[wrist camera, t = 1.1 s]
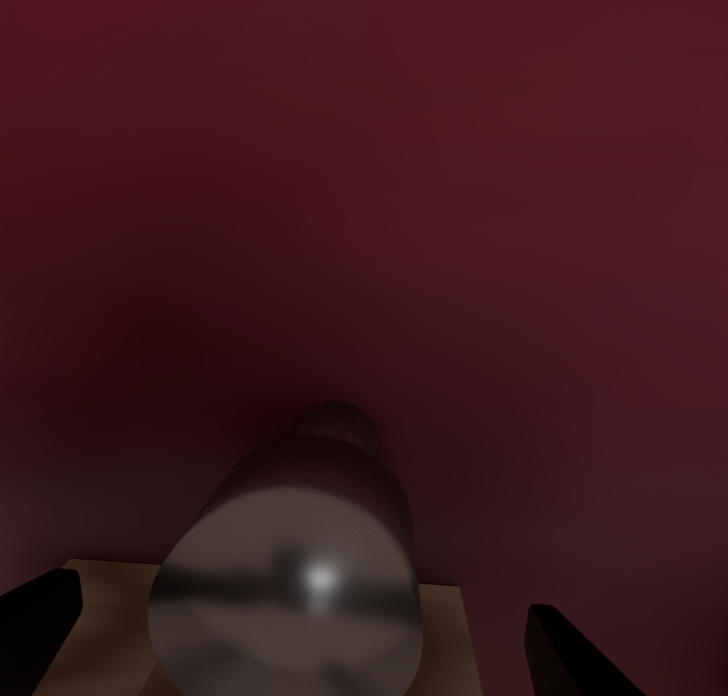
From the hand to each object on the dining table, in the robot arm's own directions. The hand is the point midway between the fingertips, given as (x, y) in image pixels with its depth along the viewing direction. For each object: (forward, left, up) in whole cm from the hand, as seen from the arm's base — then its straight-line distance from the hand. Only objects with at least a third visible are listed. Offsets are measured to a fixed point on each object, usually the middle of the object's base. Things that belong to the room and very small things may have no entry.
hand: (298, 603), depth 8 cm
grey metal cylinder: (0, 0, -7) cm, 7 cm away
